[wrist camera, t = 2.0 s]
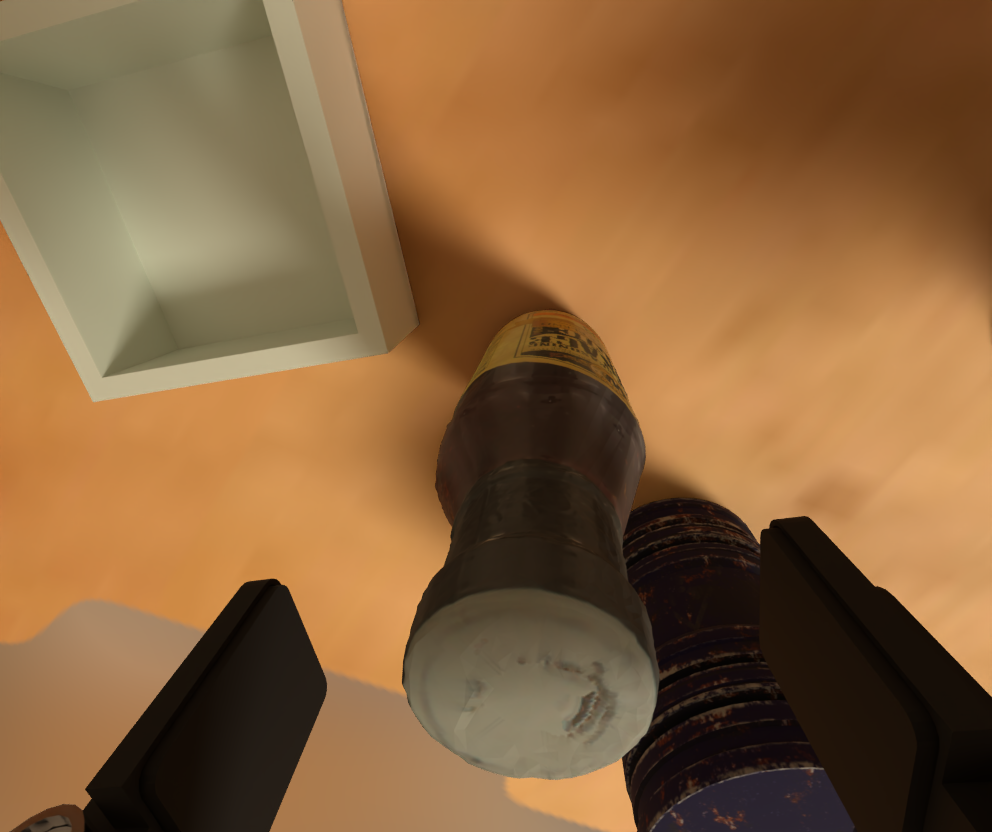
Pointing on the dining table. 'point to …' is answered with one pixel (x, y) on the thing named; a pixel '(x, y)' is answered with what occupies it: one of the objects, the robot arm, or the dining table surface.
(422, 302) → the dining table surface
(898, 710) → the robot arm
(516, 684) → the sauce bottle
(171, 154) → the bin
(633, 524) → the rusty oil drum
